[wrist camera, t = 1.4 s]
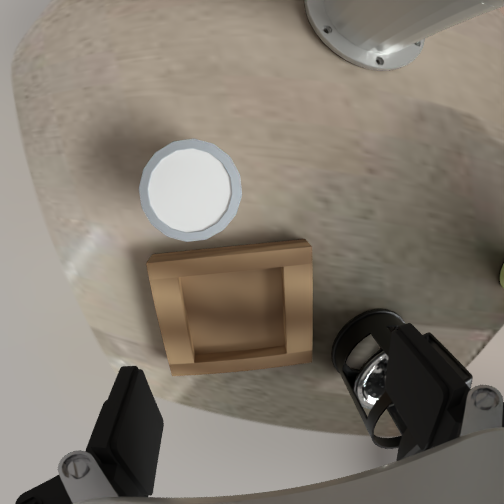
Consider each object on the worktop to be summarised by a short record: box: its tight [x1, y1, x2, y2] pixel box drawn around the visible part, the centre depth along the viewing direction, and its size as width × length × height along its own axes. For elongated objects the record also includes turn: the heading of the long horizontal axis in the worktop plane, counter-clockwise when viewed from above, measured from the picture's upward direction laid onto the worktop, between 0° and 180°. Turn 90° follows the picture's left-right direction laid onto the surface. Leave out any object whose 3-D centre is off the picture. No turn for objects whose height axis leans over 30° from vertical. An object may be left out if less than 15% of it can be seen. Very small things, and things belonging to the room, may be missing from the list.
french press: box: [332, 309, 472, 461], centre depth 23 cm, size 12×9×23 cm
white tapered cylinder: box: [139, 139, 242, 242], centre depth 24 cm, size 7×7×7 cm
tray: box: [146, 239, 313, 376], centre depth 29 cm, size 12×14×2 cm
